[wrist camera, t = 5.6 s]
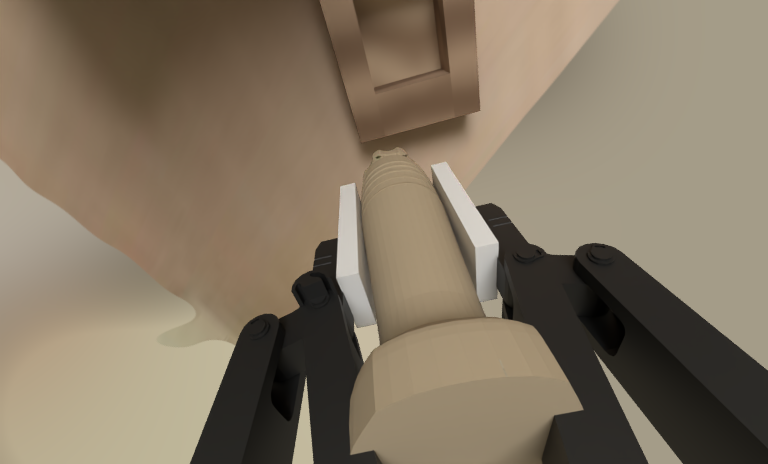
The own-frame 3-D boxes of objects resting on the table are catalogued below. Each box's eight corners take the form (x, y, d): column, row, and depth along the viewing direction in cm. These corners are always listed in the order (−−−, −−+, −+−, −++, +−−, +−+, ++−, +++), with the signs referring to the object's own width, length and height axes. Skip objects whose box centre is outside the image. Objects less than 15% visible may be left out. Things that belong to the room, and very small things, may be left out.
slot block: (304, -63, 25) (297, -76, 21) (450, -110, 24) (466, -131, 20) (360, 131, 34) (361, 143, 30) (467, 101, 33) (480, 110, 30)
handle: (427, 110, 17) (626, 356, 5) (429, 208, 21) (545, 485, 9) (340, 123, 17) (320, 403, 5) (359, 219, 21) (375, 512, 8)
